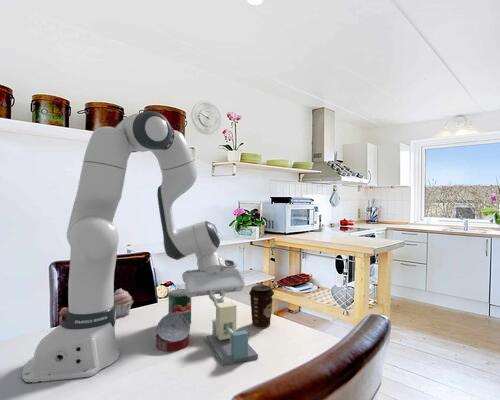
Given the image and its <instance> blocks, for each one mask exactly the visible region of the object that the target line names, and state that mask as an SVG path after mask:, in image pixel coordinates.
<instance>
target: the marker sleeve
mask: <svg viewBox="0 0 500 400" xmlns="http://www.w3.org/2000/svg"><path fill="white" fill-rule="evenodd" d="M215 319H216V336H217V337H218V338H219V340H223V339H229V338H230V337H231V335H230V334H229V333H228V331H227V330H226V329H224V330H223V323H228V326H229V327H230V328H231V330H232V331H233V332H236V331H237V305H236V304H235V303H234V302H233V301H224V303H217V304H216V306H215Z"/></svg>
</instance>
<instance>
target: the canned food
mask: <svg viewBox="0 0 500 400" xmlns="http://www.w3.org/2000/svg"><path fill="white" fill-rule="evenodd" d="M190 331H191V324H190V325H189V322H188V320H187V319H186V317H185V316H184V315H183V314H181V313H177V312H172V313H169V312H168V313H167V314H166V315H164V316H162V317H161V318H160V320H159V322H158V323H157V327H156V335H155V347H156V349H157V350H158V351H161V352H167V353H168V352H169V353H170V352H171V353H173V352H177V351H178V352H179V351H180V350H184V349H185V348H187V347H188V346H189V345H190V333H191V332H190Z"/></svg>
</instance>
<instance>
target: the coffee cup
mask: <svg viewBox="0 0 500 400" xmlns="http://www.w3.org/2000/svg"><path fill="white" fill-rule="evenodd" d="M248 294H249V295H250V296H249V297H250V309H251V326H253V327H254V328H258V329H264V328H267V327H270V326H271V318H272V309H273V301H274V300H273V296H274V295H275V292H274V291H273V289H272V287H271V286H270V285H265V284H256V285H254V286H251V290H249V293H248Z"/></svg>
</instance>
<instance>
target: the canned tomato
mask: <svg viewBox="0 0 500 400" xmlns="http://www.w3.org/2000/svg"><path fill="white" fill-rule="evenodd" d="M172 312H177V313H181V314H183V315H184V316H185V317H186V319H187V320H188V322H189V325H190V326H191V324H192V297H187V296H186V295H185V288H180V289H179V288H177V289H172V290H170V291H169V292H168V313H172Z"/></svg>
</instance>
